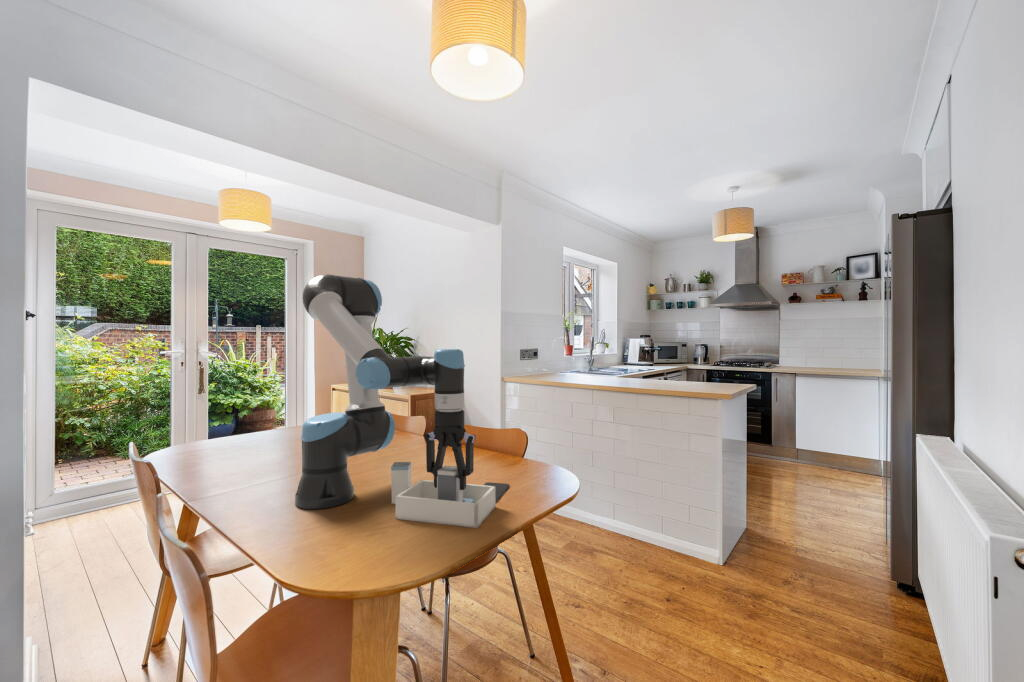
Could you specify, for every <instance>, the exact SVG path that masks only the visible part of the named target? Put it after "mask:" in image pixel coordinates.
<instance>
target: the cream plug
mask: <svg viewBox="0 0 1024 682" xmlns="http://www.w3.org/2000/svg"><path fill="white" fill-rule="evenodd" d="M390 469H391V470H390V471H391V474H390V475H391V478H390V479H391V504H395V496H397V495H398V494H400V493H402V492H403V491H405V490H406V489H408V488H410V487H411V486H412V461H397V462H396V461H395V462H393V464H391V467H390Z"/></svg>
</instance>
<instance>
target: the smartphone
mask: <svg viewBox="0 0 1024 682" xmlns="http://www.w3.org/2000/svg"><path fill="white" fill-rule="evenodd" d="M483 485H486V486H495V497H496V504H497V503H498V502H499V500H500V499H501V498H502V496H504V494H505V493H506V492H507V490H508V489H509V488H510V484H509V483H505V482H504V483H502V482H485V483H484V484H483Z"/></svg>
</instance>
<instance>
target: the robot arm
mask: <svg viewBox="0 0 1024 682" xmlns="http://www.w3.org/2000/svg"><path fill="white" fill-rule="evenodd" d="M382 297H383V296H382V293H381V290H380V289H379V287H378V285H377V284H376V283H374V282H373V281H371V280H369V279H364V278H362V277H352V276H342V275H334V274H329V273H328V274H320V275H317V276H316V277H313V278H312V279H311V280H309V281H308V282H307V283H306V285H305V287H304V289H303V292H302V304H303V307H304V309H305V311H306V312H307V313H308V315H309V316H310V317H311V318H312V319H313V320H314V321H317V322H320V323H321V325H323V327H324V328H325V329H326V330H327V331H328V332H329V334H330V335H331V336H332V337H333V339H334V340H335V341H336V342H337V344H338V346H340V347H341V348H342V349H343V351H344V356H345V357H344V358H345V368H346V369H345V370H346V378H347V379H346V380H347V387H348V398H349V399H348V400H349V404H348V406H347V407H346V409H345V410H344V412H341V411H340V412H338V411H337V412H330V413H328V412H327V413H323V414H319V415H315V416H312V417H309V418H308V419H306V420H305V421H304V422H303V424H302V426H301V427H302V428H301V437H300V440H301V466H302V467H301V476H300V479H299V483H298V485H297V490H296V492H295V496H294V504H295V506H296V507H297V508H300V509H303V510H304V509H305V510H320V509H321V510H322V509H327V508H328V509H329V508H334V507H338V506H341V505H344V504H347V503H348V502H350V501H351V500H353V498H354V497H355V488H354V485H353V483H352V479H351V476H350V474H349V470H348V458H349V457H353V456H358V455H364V454H367V453H373V452H374V453H375V452H377V451H379V450H383V449H385V448H387V447H388V446H389V445H390V444H391V442H392V441H393V439H394V436H395V433H396V422H395V418H394V416H393V415H392V414H393V413H391V412H390V411H387V410H386V405H385V404H384V403H383V402H382V401H381V400H380V398H379V390H383V389H392V388H399V387H410V386H423V385H425V386H426V385H428V386H434V409H435V411H434V429H433V431H429V432H427V433H424V435H423V438H424V441H425V449H426V452H425V453H426V460H425V461H426V472H427V473H431V474H432V475H433V481H434V487H435V488H437V499H438V470H439V469H441V468H442V467H444V466H443V465H444V461H445V457H446V452H447V449H448V447H450V448H451V450H452V452H453V455H454V461H455V464H456V465H455V466H457V470H458V474H459V476H458V477H457V478H456V501H460V502H462V501H463V490H464V489H465V488H466V484H467V477H468V476H470V475H471V474H473V473H474V457H475V456H474V450H475V449H474V443H475V441H476V438H477V436H476V434H474V433H473V434H470V433H468V432H467V430H466V428H465V410H464V408H465V366H466V365H465V359H464V357H465V356H464V352H463V350H462V349H460V348H453V349H452V348H450V349H449V348H448V349H447V348H446V349H445V348H443V349H435V350H434V353H433V354H434V355H433V356H424V355H423V356H422V355H412V356H397V357H396V356H395V357H393V356H392V357H391V356H390V355H389V354H388V352H386V350H384V348H382V346H380V344H379V343H378V342H377V341H376V340H375V339H374V336H373V328H372V327H373V326H372V325H373V323H374V322H375V321H376V319H377V318H376V316H377V315H378V314H379V313H380V312H381V307H382V305H383V298H382ZM463 439H464V441H465V459H464V453H463V450H462V448H463V445H462V444H463V443H462V440H463ZM435 440H437V441H438V444H437V453H436V447H435V445H436V444H435V443H436V441H435Z"/></svg>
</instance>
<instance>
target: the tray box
mask: <svg viewBox="0 0 1024 682" xmlns="http://www.w3.org/2000/svg"><path fill="white" fill-rule="evenodd" d="M496 505H497V503H496V497H495V486H486V485H484V484H472V483H466V488H465V489H464V490H463V501H462V502H460V501H449V500H439V499H437V488H435V487H434V480H425V479H420V480H419V481H418V482H416V483H415V484H413V485H411V487H410V488H408V489H406V490H405V491H403V492H402V493H400V494H398V495H397V496H395V519H396V520H402V521H413V522H421V523H431V524H439V525H445V526H446V525H447V526H448V525H449V526H455V527H463V528H464V527H465V528H474V529H478V528H479V527H480V526H481V525H482V524H483V523H484V521H485V520H486V519H487V518H488V517H489V516H490V514H492V512H493V511H494V510H495V508H497V507H496Z"/></svg>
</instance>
